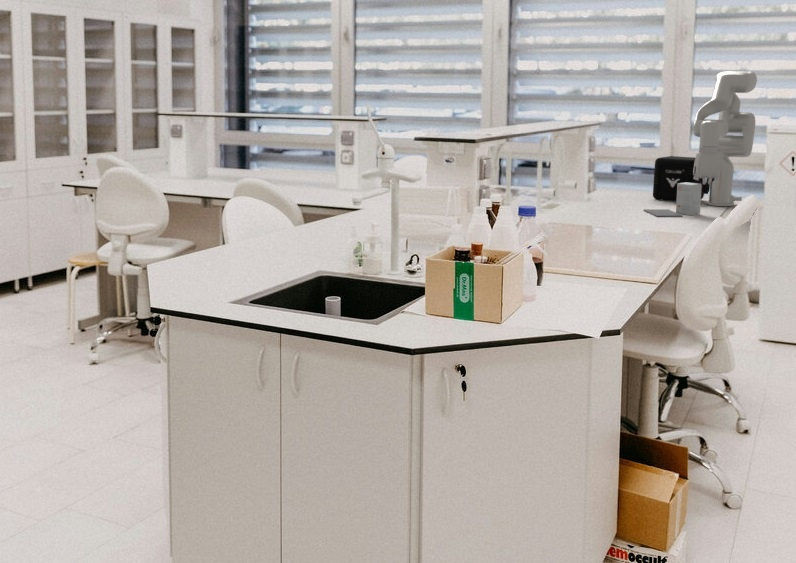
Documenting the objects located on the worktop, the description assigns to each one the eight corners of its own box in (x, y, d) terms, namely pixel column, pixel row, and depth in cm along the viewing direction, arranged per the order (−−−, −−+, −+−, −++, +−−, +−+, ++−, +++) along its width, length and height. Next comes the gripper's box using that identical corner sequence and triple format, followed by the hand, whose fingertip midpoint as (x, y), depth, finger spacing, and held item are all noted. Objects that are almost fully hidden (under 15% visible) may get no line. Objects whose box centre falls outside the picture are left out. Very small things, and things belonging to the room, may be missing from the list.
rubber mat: (668, 210, 401) (668, 209, 401) (682, 216, 384) (682, 215, 384) (643, 210, 401) (643, 209, 401) (656, 217, 383) (656, 215, 383)
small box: (700, 214, 391) (702, 183, 388) (691, 215, 388) (693, 185, 385) (684, 211, 398) (685, 181, 395) (675, 213, 394) (677, 183, 391)
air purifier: (650, 199, 438) (653, 157, 434) (663, 196, 449) (666, 155, 445) (691, 203, 425) (694, 160, 421) (703, 200, 436) (706, 158, 432)
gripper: (722, 149, 391) (718, 192, 395) (687, 149, 390) (684, 192, 394) (729, 151, 384) (725, 194, 388) (694, 151, 383) (690, 194, 387)
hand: (704, 193), depth 391 cm, fingers closed
